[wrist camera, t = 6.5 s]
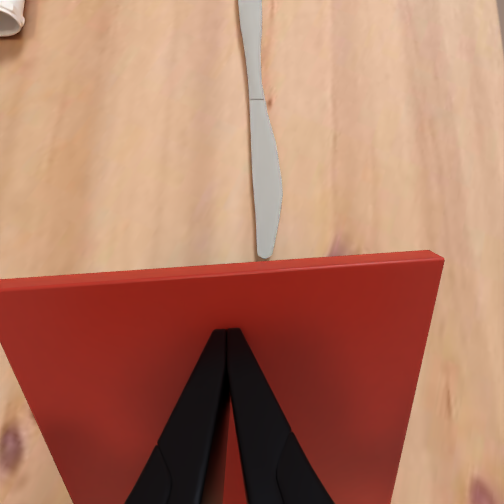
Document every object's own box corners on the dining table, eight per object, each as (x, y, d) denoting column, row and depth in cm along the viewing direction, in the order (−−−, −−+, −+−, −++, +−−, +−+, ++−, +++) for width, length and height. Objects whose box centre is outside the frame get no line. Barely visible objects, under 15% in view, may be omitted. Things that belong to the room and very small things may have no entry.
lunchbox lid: (-3, 278, 8) (-26, 291, 8) (428, 248, 9) (446, 257, 8) (97, 518, 13) (89, 540, 12) (382, 486, 14) (391, 505, 13)
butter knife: (268, -28, 26) (237, -31, 26) (287, 257, 22) (249, 259, 21) (267, -21, 27) (236, -24, 26) (285, 259, 22) (248, 260, 22)
